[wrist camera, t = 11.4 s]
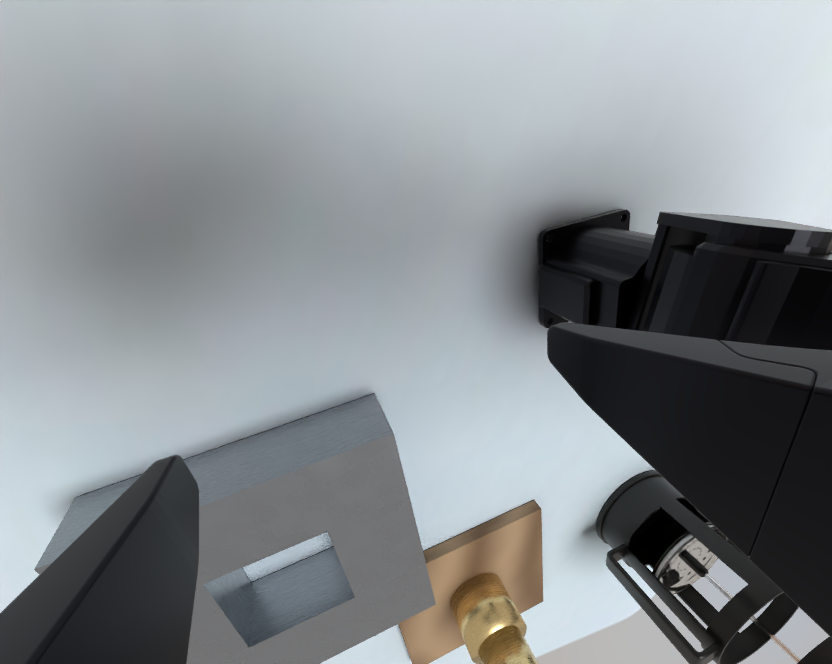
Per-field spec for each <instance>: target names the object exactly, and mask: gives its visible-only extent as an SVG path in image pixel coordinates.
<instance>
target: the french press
mask: <svg viewBox="0 0 832 664" xmlns="http://www.w3.org/2000/svg"><path fill="white" fill-rule="evenodd" d="M646 519H647V520H646ZM596 529H597V533H598V536H599V537H600V538H601V539H602V540H603V542H605V543H607V544H609V545H610V546H611V547H612V548H613V549H612V550H610V551H609V552H608V553H607V559H606V566H607V567H608V569H609V570H610V571H611V572H612V573H613V574H614V576H615V577H616V578H617V579H618V580H619V582H620V583H621V584H622V585H623V586H624V587H625V589H626V590H627V591H628V592H629V593H630V595H631V596H632V597H633V598H634V599H635V600H636V602H637V603H638V604H639V605H640V606H641V607H642V609H643V610H644V611H645V612H646V613H647V615H648V616H649V617H650V618H651V619H652V620H653V622H654V623H655V624H656V625H657V626H658V628H659V629H660V630H661V631H662V632H663V633H664V635H665V636H666V637H667V638H668V639H669V640H670V642H671V643H672V644H673V645H674V646H675V647H676V649H677V650H678V651H679V652H680V653H681V655H682V656H683V657H684V658H685V659H686V661H687V662H688V663H689V664H707V663H709V662H710V661H712V660H714V661H715V662H716V663H717V664H737V663H739V662H741V661H743V660H744V659H746V658H747V657H749V656H750V655H752V654H753V653H754V652H756V651H757V650H758V649H759V648H761V647H762V646H763V645H764V644H766V643H767V642H768V641H769V640H770V639H772V640H773V641H774V642H775V643H776V644H777V645H778V646H779V647H780V648H781V649H783V650H784V651H785V652H786V653H787V654H788V655H789V656H790V657H791V658H792V659H793V660H794V661H795V662H796V663H797V664H832V638H831V637H828V638H827V639H826V640H824V641H823V642H822V643H820V644H819V645H818V646H817V647H815V648H814V649H813V650H812V651H810V652H809V653H808V654H807V655H806V656H805V657H804V658H803V659H801V660H800V659H799V658H798V657H797V656H796V655H795V654H794V653H793V652H792V651H791V650H790V649H789V648H787V647H786V646H785V645H784V644H783V643H782V642H781V641H780V640H779V639H777V637H775V636H774V635H775V634H776V633H777V632H778V631H779V630H780V629H781V628H782V627H783V626H784V625H785V624H786V623H787V622H788V621H789V619H790V618H791V617H792V616H793V614H794V613H795V612H796V610H797V609H798V607H799V606H798V605H797V604H796V603H794V602H793V601H792V600H791V599H790V598H789V597H788V596H787V595H786V594H785V593H784V592H783V591H782V590H781V589H780V588H779V587H778V586H777V585H776V584H775V583H773V582H772V581H771V580H770V579H769V578H768V577H767V576H766V575H765V574H764V573H763V572H762V571H761V570H760V569H759V568H758V567H757V566H756V565H755V564H754V563H752V562H751V561H750V560H749V556H746V555H744V554H743V553H742V552H741V551H740V550H739V549H738V548H737V547H736V546H735V545H734V544H733V543H732V542H731V541H730V540H729V539H728V538H727V537H726V536H724V535H723V534H722V533H721V532H720V531H719V530H718V529H717V528H716V527H715V526H714V525H713V524H712V523H711V522H710V521H709V520H708V519H707V518H706V517H704V516H703V515H702V514H701V513H700V512H699V511H698V510H697V509H696V508H695V507H694V506H693V505H692V504H691V503H690V502H689V501H688V500H687V499H686V498H685V497H683V496H682V495H681V494H680V493H679V492H678V491H677V490H676V489H675V488H674V487H673V486H672V485H671V484H670V483H669V482H668V481H667V480H666V479H665V478H663V477H662V476H661V475H660V474H659V473H658V472H657V471H648V472H644V473H641V474H639V475H637V476H635V477H633V478H631V479H630V480H628V481H627V482H626V483H624V484H623V485H622V486H621V487H619V488H618V489H617V490H616V491H615V492H614V493H613V494H612V496H611V497H610V498H609V499H608V501H607V502H606V503H605V505H604V506H603V508H602V510H601V512H600V514H599V517H598V519H597V525H596ZM718 558H719V559H720V560H721V561H722V562H724V563H725V564H726V565H727V566H728V567H729V568H731V569H732V570H733V571H734V572H735V573H736V574H737V575H739V576H740V577H741V578H742V579H743V580H745V581H746V582H747V583H748V585H747V586H746V587H745V588H743V589H742V590H741V591H740V592H739V593H737V594H736V595H735V596H734V597H732V596H731V595H730V594H729V593H728V592H727V591H726V590H725V589H724V588H723V587H721V586H720V585H719V584H718V583H717V582H716V581H715V580H714V579H713V578H712V577H711V576H710V575H708V570H709V569H710V568H711V566H712V565H713V564H714V563H715V561H716V560H717V559H718ZM620 559H623V561H624V562H625V563H626V564H627V565H628V566H630V567H632V568H633V569H634V570H635V571H636V572H637V573H638V574H639V575H640V576H641V578H642V579H643V580H644V581H645V582H646V583H647V584H648V585H649V586H650V587H651V589H652V590H653V591H654V592H655V593H656V594H657V595H658V596H659V597H660V598H661V599H662V601H663V602H664V603H665V604H666V605H667V606H668V607H669V608H670V609H671V611H672V612H673V613H674V614H675V615H676V616H677V617H678V618H679V619H680V620H681V621H682V622H683V624H684V625H685V626H686V627H687V628H688V629H689V630H690V631H691V632H692V633H693V635H694V636H695V637H696V638H697V639H698V640H699V641H700V642H701V646H702V648H703V649H704V650H703V651H702V652H697V651H696V650H695V649H694V648H693V647H692V646H691V644H689V642H688V641H687V640H686V639H685V638H684V637H683V635H681V633H680V632H679V631H678V630H677V629H676V628H675V626H674V625H673V624H672V623H671V622H670V621H669V620H668V619H667V617H666V616H665V615H664V614H663V613H662V612H661V611H660V609H659V608H658V607H657V606H656V605H655V604H654V603H653V602H652V600H651V599H650V598H649V597H648V596H647V595H646V594H645V593H644V591H643V590H642V589H641V588H640V587H639V586H638V585H637V583H636V582H635V581H634V580H633V579H632V578H631V577H630V576H629V574H628V573H627V572H626V571H625V570H624V569H623V568H622V567H621V565H620V564H619V563H618V562H617V561H619V560H620ZM647 565H650V566H651V568H652V569H653V572H651V571H650V570H649V569H648V568H647V567H646V566H647ZM700 577H706V578H707V579H708V580H709V581H710V582H711V583H712V584H713V585H714V586H715V587H716V588H717V589H719V590H720V591H721V592H722V593H723V594H724V595H725V596H726V597H727V598H728V599H729V600H730V601H729V602H728V603H727V604H726V605H725V606H724V607H723V608H722V609H721V610H720V612H718V611H717V610H716V609H715V608H714V607H713V606H712V605H711V604H710V603H709V602H708V601H707V600H706V599H705V598H704V597H703V596H702V595H701V594H700V593H699V592H698V591H696V589H695V588H694V587H693V586H691V585H692V584H693V583H694V582H696V581H697V580H698V579H699V578H700ZM673 594H677V595H678V596H679V597H680V598H681V599H682V600H683V601H684V602H685V603H686V604H687V605H688V606H689V607H690V608H691V609H692V610H693V611H694V612H695V613H696V615H698V616H699V618H700V619H701V620H702V621H703V622H704V623H705V624H706V625H707V626H708V628H707V629H705V628H704V627H703V626H702V625H701V624H700V623H699V622H698V620H697V619H696V618H695V617H694V616H693V615H692V614H691V613H690V612H689V611H688V610H687V609H686V608H685V607H684V606H683V605H682V604H681V603H680V602H679V601H678V600H677V599H676V597H675V596H674V595H673ZM773 599H774V600H773ZM771 600H773V601H772V602H771V604H770V605H769V606H768V607H767V608H766V610H765V611H764V612H763V613H762V614H761V615H760V616H759V617H758V618H757V619H756V618H755V617H754V616H753V615H754V614H755V613H757V612H758V611H759V610H760V609H761V608H762V607H764V606H765V605H766V604H767V603H769V602H770V601H771ZM749 619H750V620H752V621H753V623H752V624H751V625H750V626H748V627H747V628H746V629H745V630H743V631H742V632H741V633H739V632H738V631H739V629H740V628H741V627H742V626H743V625H744V624H745V623H746V622H747V621H748V620H749Z"/></svg>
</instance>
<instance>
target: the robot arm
mask: <svg viewBox="0 0 832 664" xmlns="http://www.w3.org/2000/svg"><path fill="white" fill-rule="evenodd" d="M621 216H622V218H621ZM620 219H621V220H620ZM629 222H630V213H629V211H628V210H624V209H618V210H615V211H611V212H607V213H604V214H600V215H596V216H592V217H589V218H585V219H581V220H578V221H574V222H570V223H567V224H563V225H559V226H555V227H552V228H548V229H545V230H543V231H542V232H541V233H540V235H539V239H538V242H539V270H538V274H539V305H540V324H541V325H542V326H544V327H545V328H549V329H548V331H547V354H548V358H549V360H550V362H551V364H552V365H553V366H554V367H555V368H556V369H557V371H558V372H559V373H560V374H561V375H562V376H563V378H564V379H565V380H566V381H567V382H568V383H569V385H570V386H571V387H572V388H573V389H574V390H575V392H576V393H577V394H578V395H579V396H580V397H581V398H582V400H583V401H584V402H585V403H586V404H587V405H588V406H589V407H590V408H591V409H592V410H593V411H594V412H595V413H596V414H597V415H598V416H599V417H600V418H601V419H603V420H604V421H605V422H606V423H607V424H608V425H609V426H610V427H611V428H612V429H613V430H614V431H615V432H616V433H617V434H618V435H619V436H620V437H621V438H622V439H624V440H625V441H626V442H627V443H628V444H629V445H630V446H631V447H632V448H633V449H634V450H635V451H636V452H637V453H638V454H639V455H640V456H641V457H642V458H644V459H645V460H646V461H647V462H648V463H649V464H650V465H651V466H652V467H653V468H654V469H655V470H656V471H657V472H658V473H659V474H660V475H661V476H662V477H663V478H665V479H666V480H667V481H668V482H669V483H670V484H671V485H672V486H673V487H674V488H675V489H676V490H677V491H678V492H679V493H680V494H681V495H682V496H683V497H685V498H686V499H687V500H688V501H689V502H690V503H691V504H692V505H693V506H694V507H695V508H696V509H697V510H698V511H699V512H700V513H701V514H702V515H703V516H704V517H706V518H707V519H708V520H709V521H710V522H711V523H712V524H713V525H714V526H715V527H716V528H717V529H718V530H719V531H720V532H721V533H722V534H723V535H724V536H726V537H727V538H728V539H729V540H730V541H731V542H732V543H733V544H734V545H735V546H736V547H737V548H738V549H739V550H740V551H741V552H742V553H743V554H744V555H746V556H749V560H750V561H751V562H752V563H754V564H755V565H756V566H757V567H758V568H759V569H760V570H761V571H762V572H763V573H764V574H765V575H766V576H767V577H768V578H769V579H770V580H771V581H772V582H773V583H775V584H776V585H777V586H778V587H779V588H780V589H781V590H782V591H783V592H784V593H785V594H786V595H787V596H788V597H789V598H790V599H791V600H792V601H793V602H794V603H796V604H797V605H798V606H799V607H800V608H801V609H802V610H803V611H804V612H805V613H806V614H807V615H808V616H809V617H810V618H811V619H812V620H814V622H815V623H817V624H818V625H819V626H820V627H821V628H822V629H823V630H824V631H825V632H826V633H827V634H828V635H829V636H830V637H831V638H832V230H830V229H824V228H819V227H813V226H808V225H802V224H796V223H791V222H785V221H779V220H770V219H760V218H749V217H739V216H729V215H713V214H693V213H673V212H660V214H659V217H658V220H657V224H659V225H658V228H657V231H656V235H650V234H644V233H639V232H633V231H629ZM548 235H549V239H548V240H547V241H546V238H547V236H548ZM548 319H549V321H548V322H547V320H548ZM569 321H570V322H572V323H567V322H569ZM198 564H199V488H198V484H197V482H196V480H195V478H194V477H193V475H192V473H191V472H190V470H189V468H188V467H187V465H186V463H185V462H184V460H183V459H182V458H181V457H180V456H178V455H173V456H170V457H167V458H164V459H161V460H158V461H156V462H155V463H153V464H152V465H151V466H150V467H149V468H148V469H147V470H146V471H145V472H144V473H143V474H142V475H141V476H140V477H139V478H138V479H137V480H136V481H135V482H134V483H133V484H132V485H131V486H130V487H129V488H128V489H127V490H126V491H125V492H124V493H123V494H122V495H121V496H120V497H119V498H118V499H117V500H116V501H115V502H114V503H113V504H112V505H111V506H109V507H108V508H107V509H106V510H105V511H104V512H103V513H102V514H101V515H100V516H99V517H98V518H97V519H96V520H95V521H94V522H93V523H92V524H91V525H90V526H89V527H88V528H87V529H86V530H85V531H84V532H83V533H82V534H81V535H80V536H79V537H78V538H77V539H76V540H75V541H74V542H73V543H72V544H71V545H70V546H69V547H68V548H67V549H66V550H65V551H63V552H62V553H61V554H60V555H59V556H58V557H57V558H56V559H55V560H54V561H53V562H52V563H51V564H50V565H49V566H48V567H47V568H46V569H45V570H44V571H43V572H42V573H41V574H40V575H39V576H38V577H37V578H36V579H35V580H34V581H33V582H32V583H31V584H30V585H29V586H28V587H27V588H26V589H25V590H24V591H23V592H22V593H21V594H20V595H18V596H17V597H16V598H15V599H14V600H13V601H12V602H11V603H10V604H9V605H8V606H7V607H6V608H5V609H4V610H3V611H2V612H1V613H0V664H186V663H187V655H188V647H189V639H190V631H191V623H192V615H193V607H194V599H195V591H196V583H197V574H198Z"/></svg>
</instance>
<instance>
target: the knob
mask: <svg viewBox="0 0 832 664" xmlns="http://www.w3.org/2000/svg"><path fill="white" fill-rule="evenodd" d="M450 608H451V610H452V613H453V615H454V617H455V620H456V622H457V625H458V627H459V630H460V632H461V635H462V637H463V639H464V642H465V644H466V647H467V649H468V652H469V654H470V656H471V659H472V661H473V662H474V663H476V664H538V662H537V660H536V658H535V657H534V655H533V653H532V651H531V649H530V647H529V646H528V644H527V642H526V640H525V638H524V636H525V633H526V624H525V622H524V621H523V619H522V617H521V615H520V613H519V612H518V610H517V608H516V606H515V605H514V603H513V601H512V599H511V597H510V596H509V594H508V592H507V590H506V588H505V587H504V585H503V583H502V581H501V580H500V578H499V576H498V575H496V574H494V573H482V574H478V575H476V576H474V577H472V578H470V579H468V580H467V581H465V582H464V583H463V584H461V585H460V586H459V587H458V588H457V590H456V591H455V592H454V594H453V595H452V597H451V600H450Z"/></svg>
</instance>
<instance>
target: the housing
mask: <svg viewBox="0 0 832 664" xmlns="http://www.w3.org/2000/svg"><path fill="white" fill-rule="evenodd" d="M184 462H185V463H186V465H187V467H188V468H189V470H190V472H191V473H192V475H193V477H194V478H195V480H196V482H197V484H198V488H199V564H198V574H197V583H196V591H195V599H194V607H193V615H192V623H191V631H190V639H189V647H188V655H187V663H186V664H320V663H322V662H323V661H325V660H327V659H329V658H331V657H333V656H335V655H337V654H339V653H341V652H343V651H345V650H347V649H349V648H351V647H353V646H355V645H357V644H359V643H361V642H363V641H365V640H367V639H369V638H371V637H373V636H375V635H377V634H379V633H381V632H383V631H385V630H387V629H389V628H391V627H393V626H394V625H396V624H398V623H400V622H402V621H404V620H406V619H408V618H410V617H412V616H414V615H416V614H418V613H420V612H422V611H424V610H426V609H428V608H430V607H432V606H434V605H436V602H435V598H434V594H433V590H432V586H431V582H430V578H429V574H428V570H427V566H426V562H425V558H424V554H423V550H422V546H421V542H420V538H419V534H418V530H417V526H416V522H415V517H414V513H413V509H412V505H411V501H410V497H409V493H408V489H407V485H406V481H405V477H404V473H403V469H402V465H401V461H400V457H399V453H398V449H397V445H396V441H395V437H394V433H393V431H392V429H391V427H390V425H389V423H388V421H387V419H386V416H385V414H384V412H383V410H382V408H381V406H380V404H379V402H378V400H377V398H376V395H375V394H372V395H369V396H366V397H363V398H360V399H357V400H354V401H352V402H349V403H346V404H343V405H340V406H337V407H334V408H331V409H328V410H326V411H323V412H320V413H317V414H314V415H311V416H308V417H305V418H303V419H300V420H297V421H294V422H291V423H288V424H285V425H282V426H280V427H277V428H274V429H271V430H268V431H265V432H262V433H259V434H257V435H254V436H251V437H248V438H245V439H242V440H239V441H236V442H234V443H231V444H228V445H225V446H222V447H219V448H216V449H213V450H211V451H208V452H205V453H202V454H199V455H196V456H193V457H190V458H188V459H185V460H184ZM140 476H141V475H139V476H136V477H133V478H130V479H127V480H124V481H121V482H119V483H116V484H113V485H110V486H107V487H104V488H101V489H98V490H96V491H93V492H90V493H87V494H84V495H81V496H78V497H76V498H75V499H74V501H73V503H72V505H71V506H70V508H69V510H68V512H67V513H66V515H65V517H64V519H63V520H62V522H61V524H60V526H59V527H58V529H57V531H56V533H55V534H54V536H53V538H52V539H51V541H50V543H49V545H48V546H47V548H46V550H45V552H44V553H43V555H42V557H41V559H40V560H39V562H38V564H37V566H36V567H35V569H34V570H35V571H36V572H37V573H38V574H41V573H42V572H43V571H44V570H45V569H46V568H47V567H48V566H49V565H50V564H51V563H52V562H53V561H54V560H55V559H56V558H57V557H58V556H59V555H60V554H61V553H62V552H63V551H65V550H66V549H67V548H68V547H69V546H70V545H71V544H72V543H73V542H74V541H75V540H76V539H77V538H78V537H79V536H80V535H81V534H82V533H83V532H84V531H85V530H86V529H87V528H88V527H89V526H90V525H91V524H92V523H93V522H94V521H95V520H96V519H97V518H98V517H99V516H100V515H101V514H102V513H103V512H104V511H105V510H106V509H107V508H108V507H109V506H111V505H112V504H113V503H114V502H115V501H116V500H117V499H118V498H119V497H120V496H121V495H122V494H123V493H124V492H125V491H126V490H127V489H128V488H129V487H130V486H131V485H132V484H133V483H134V482H135V481H136V480H137V479H138V478H139V477H140ZM327 531H328V534H329V536H330V539H331V541H332V543H333V546H334V547H332V548H329V549H327V550H325V551H323V552H320V553H318V554H316V555H313V556H311V557H309V558H306V559H304V560H302V561H300V562H297V563H295V564H293V565H290V566H288V567H286V568H284V569H281V570H279V571H277V572H274V573H272V574H270V575H268V576H265V577H263V578H261V579H258V580H256V581H254V582H252V583H251V581H250V580H249V578H248V577H247V575H246V573H245V572H244V570H243V568H242V567H245V566H247V565H249V564H252V563H254V562H257V561H259V560H261V559H264V558H266V557H268V556H271V555H273V554H275V553H278V552H280V551H282V550H285V549H287V548H289V547H292V546H294V545H296V544H299V543H301V542H304V541H306V540H308V539H311V538H313V537H315V536H318V535H320V534H322V533H325V532H327Z"/></svg>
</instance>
